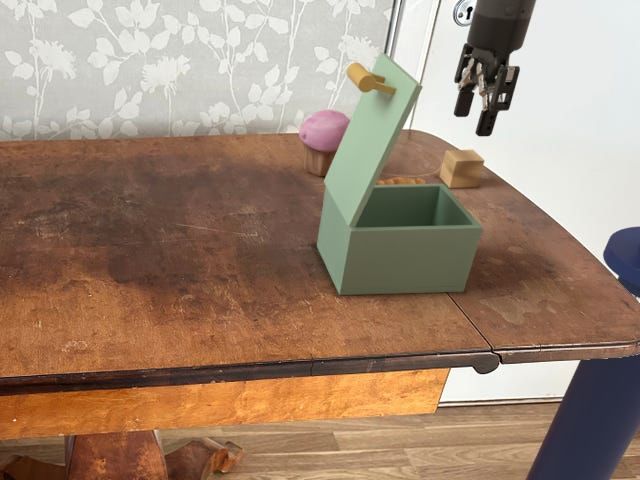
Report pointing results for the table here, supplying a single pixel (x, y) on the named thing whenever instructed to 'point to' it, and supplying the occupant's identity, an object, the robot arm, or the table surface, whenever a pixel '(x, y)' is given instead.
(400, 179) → the pastry
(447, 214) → the chest
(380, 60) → the lid
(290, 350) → the table surface
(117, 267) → the table surface
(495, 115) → the robot arm
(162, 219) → the table surface
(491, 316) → the table surface
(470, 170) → the block
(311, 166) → the cupcake
